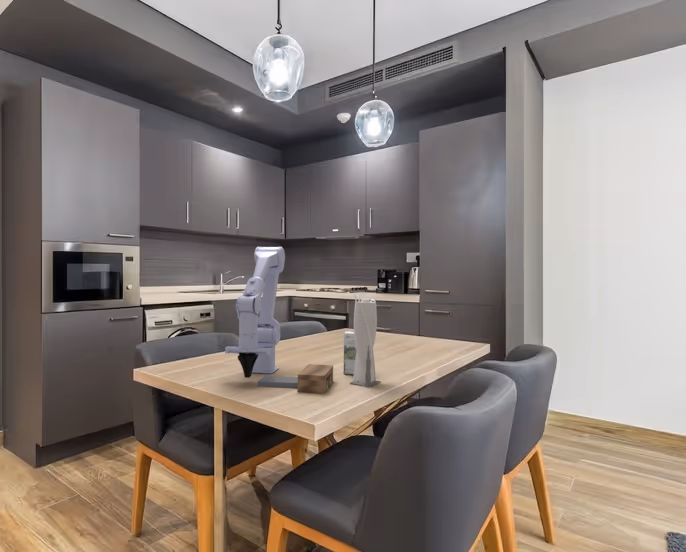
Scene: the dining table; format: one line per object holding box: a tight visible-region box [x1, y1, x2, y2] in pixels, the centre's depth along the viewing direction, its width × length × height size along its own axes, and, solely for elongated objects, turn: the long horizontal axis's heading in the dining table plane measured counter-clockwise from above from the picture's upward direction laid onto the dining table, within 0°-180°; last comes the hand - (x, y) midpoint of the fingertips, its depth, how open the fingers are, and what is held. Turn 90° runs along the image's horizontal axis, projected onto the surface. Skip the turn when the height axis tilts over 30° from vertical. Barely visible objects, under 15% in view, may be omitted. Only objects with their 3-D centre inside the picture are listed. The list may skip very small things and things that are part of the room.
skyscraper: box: [349, 293, 381, 388], centre depth 129 cm, size 8×8×28 cm
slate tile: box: [257, 375, 298, 389], centre depth 126 cm, size 13×7×2 cm, turn 83°
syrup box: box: [343, 330, 357, 376], centre depth 140 cm, size 6×6×14 cm
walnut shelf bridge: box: [296, 363, 334, 394], centre depth 124 cm, size 8×14×5 cm, turn 171°
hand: (247, 377), depth 128 cm, fingers closed
